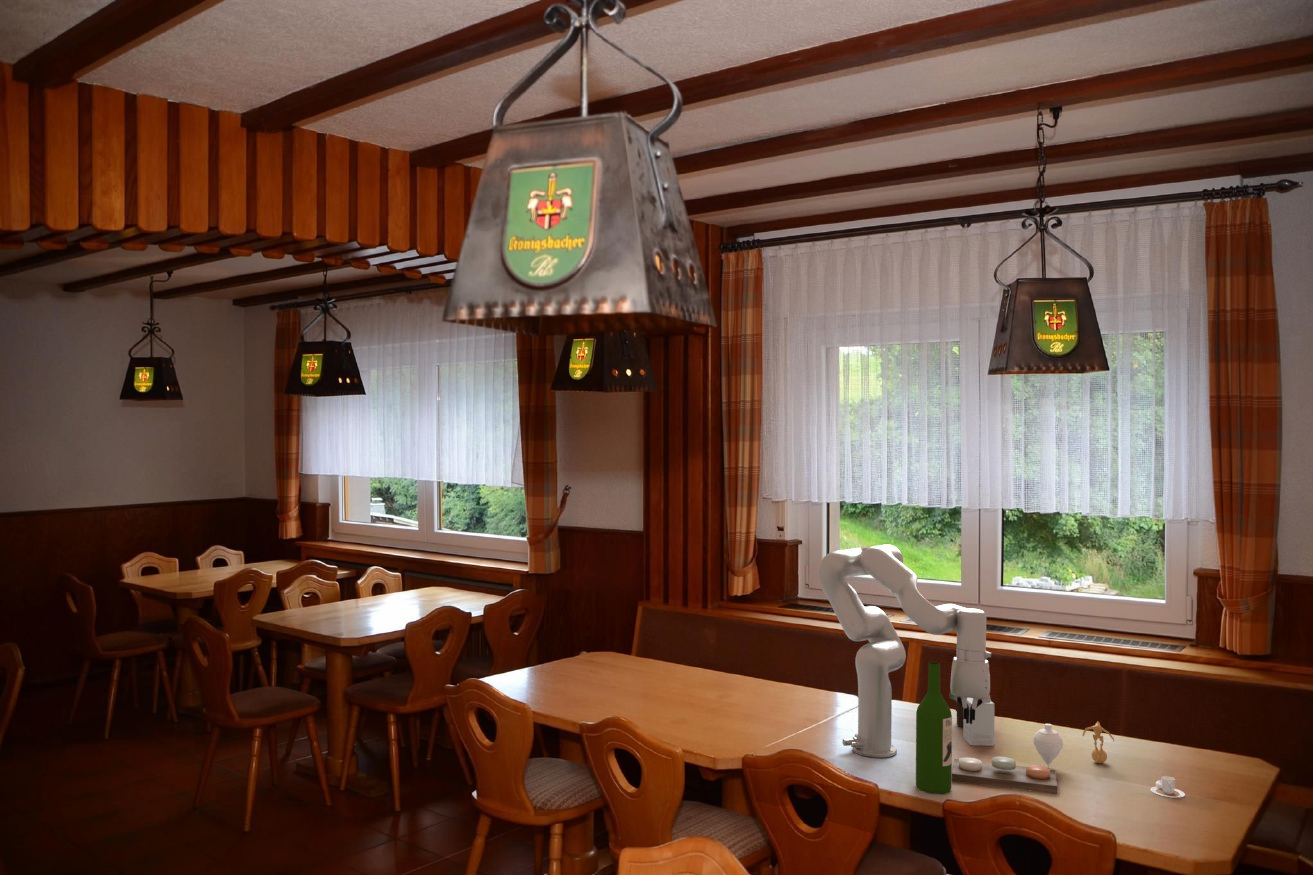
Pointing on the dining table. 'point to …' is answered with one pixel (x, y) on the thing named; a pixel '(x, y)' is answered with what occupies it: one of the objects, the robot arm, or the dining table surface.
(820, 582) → the robot arm
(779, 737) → the dining table surface
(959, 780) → the button board
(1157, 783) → the teacup and saucer
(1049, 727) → the spinning top
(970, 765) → the cream button
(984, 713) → the supplement box
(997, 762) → the sage button
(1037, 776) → the terracotta button
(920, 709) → the wine bottle
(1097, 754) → the figurine
